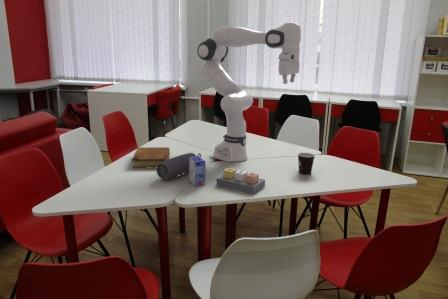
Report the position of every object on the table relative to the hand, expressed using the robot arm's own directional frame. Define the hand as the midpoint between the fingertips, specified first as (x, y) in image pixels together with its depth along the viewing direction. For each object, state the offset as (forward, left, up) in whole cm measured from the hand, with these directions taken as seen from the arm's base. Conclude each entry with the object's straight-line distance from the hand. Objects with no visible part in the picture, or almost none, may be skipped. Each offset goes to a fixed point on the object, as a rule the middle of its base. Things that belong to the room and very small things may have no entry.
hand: (288, 83), depth 199 cm
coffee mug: (+12, +1, -47) cm, 49 cm away
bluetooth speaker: (-41, -42, -47) cm, 75 cm away
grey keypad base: (-7, -37, -47) cm, 60 cm away
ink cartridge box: (-27, -45, -47) cm, 70 cm away
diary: (-67, -32, -48) cm, 88 cm away
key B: (-7, -37, -44) cm, 58 cm away
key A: (-13, -37, -44) cm, 59 cm away
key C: (-1, -37, -44) cm, 58 cm away
